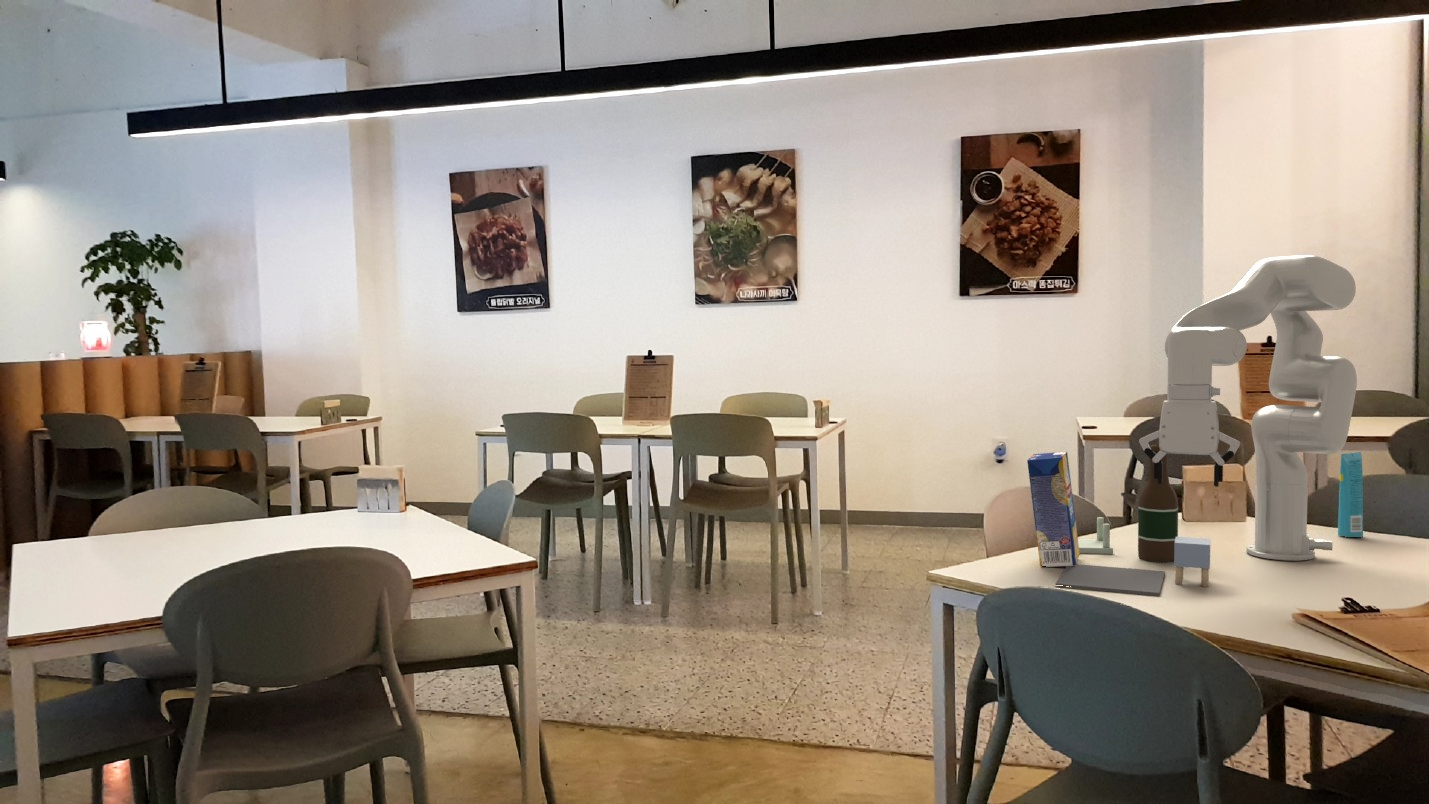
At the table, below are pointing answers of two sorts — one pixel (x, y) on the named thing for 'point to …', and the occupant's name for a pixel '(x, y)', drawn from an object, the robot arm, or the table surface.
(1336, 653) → the table surface
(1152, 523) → the beer bottle
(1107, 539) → the mint twin-peg base
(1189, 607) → the table surface
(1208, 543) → the slate-blue stool
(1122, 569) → the charcoal mat
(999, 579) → the table surface
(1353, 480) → the teal carton
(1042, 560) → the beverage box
